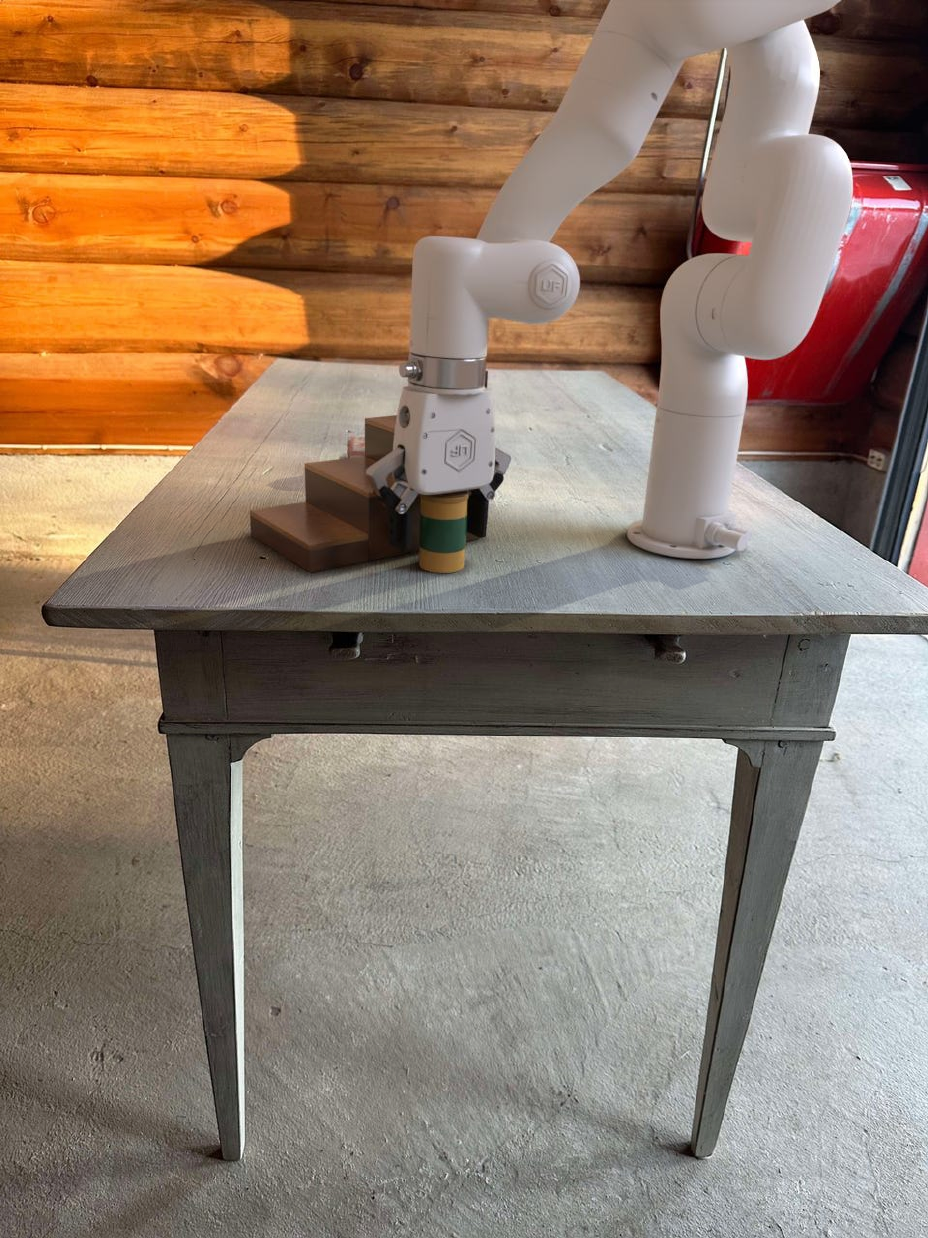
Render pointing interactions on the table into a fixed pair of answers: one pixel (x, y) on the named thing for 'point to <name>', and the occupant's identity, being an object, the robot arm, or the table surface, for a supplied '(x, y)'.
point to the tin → (443, 531)
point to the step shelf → (339, 510)
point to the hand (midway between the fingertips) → (438, 540)
